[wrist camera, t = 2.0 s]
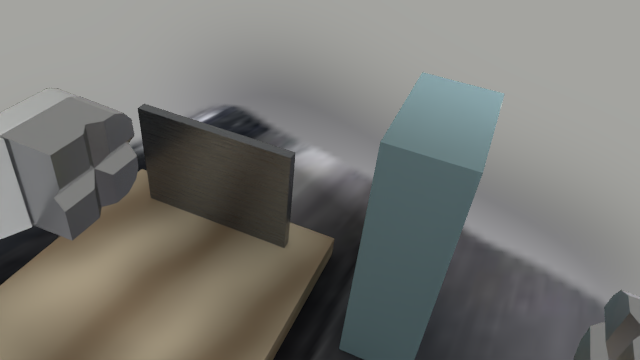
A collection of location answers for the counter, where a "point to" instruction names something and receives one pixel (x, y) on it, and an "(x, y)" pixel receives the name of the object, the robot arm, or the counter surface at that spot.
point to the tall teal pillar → (417, 214)
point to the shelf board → (159, 289)
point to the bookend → (218, 174)
